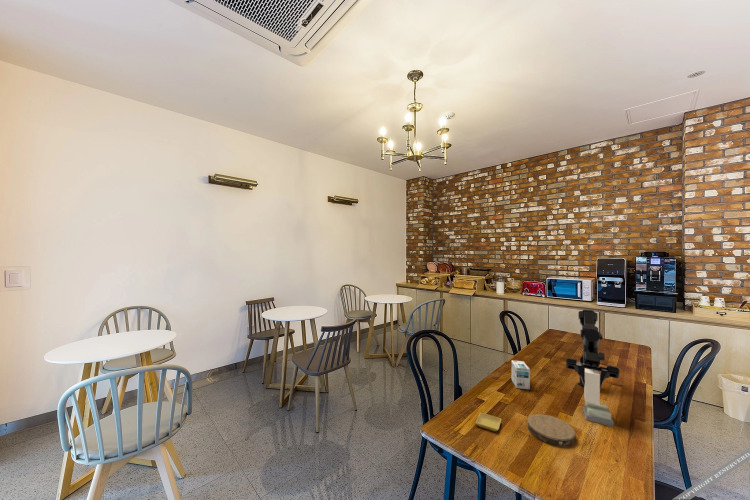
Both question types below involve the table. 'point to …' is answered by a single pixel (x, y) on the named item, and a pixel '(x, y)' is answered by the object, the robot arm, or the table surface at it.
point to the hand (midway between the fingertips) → (592, 386)
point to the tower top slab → (598, 410)
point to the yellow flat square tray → (488, 422)
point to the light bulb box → (520, 374)
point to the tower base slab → (596, 419)
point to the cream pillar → (592, 386)
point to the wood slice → (551, 430)
